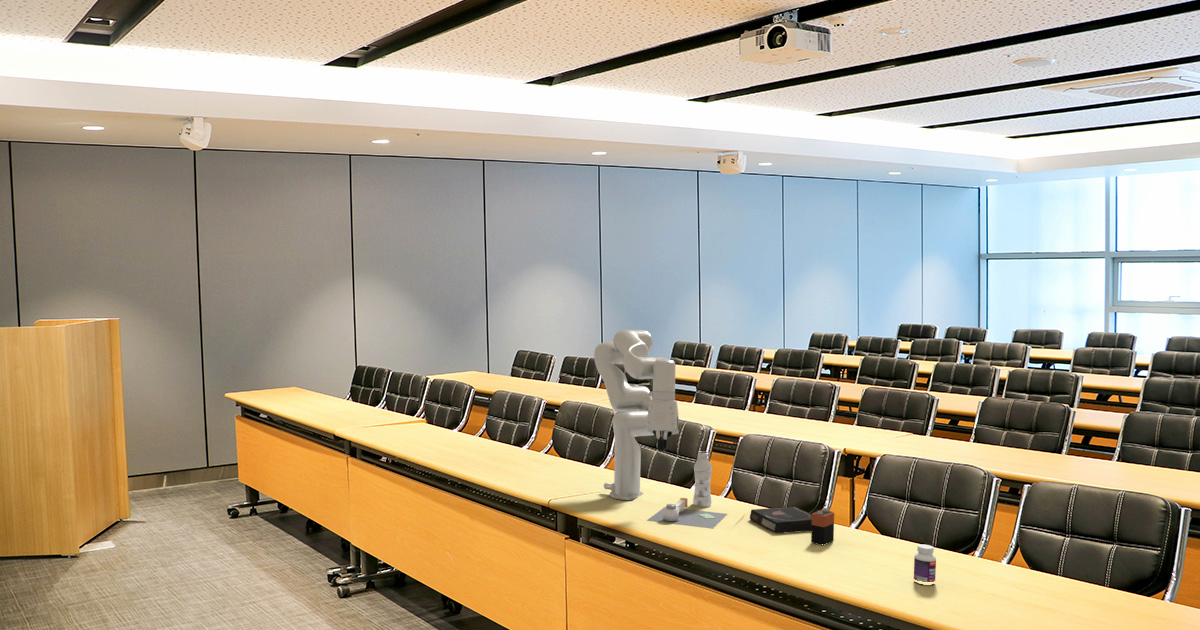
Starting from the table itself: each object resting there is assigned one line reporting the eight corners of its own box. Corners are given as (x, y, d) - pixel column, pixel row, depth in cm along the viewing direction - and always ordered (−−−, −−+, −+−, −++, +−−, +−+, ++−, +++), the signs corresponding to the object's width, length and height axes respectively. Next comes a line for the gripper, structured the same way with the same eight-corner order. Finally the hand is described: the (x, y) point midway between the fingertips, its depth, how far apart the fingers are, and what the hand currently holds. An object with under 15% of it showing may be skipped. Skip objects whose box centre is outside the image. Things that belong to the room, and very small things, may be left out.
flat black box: (749, 521, 294) (749, 509, 294) (794, 518, 300) (794, 506, 299) (774, 535, 279) (774, 522, 279) (821, 531, 284) (821, 519, 284)
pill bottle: (932, 587, 230) (934, 550, 230) (911, 583, 233) (912, 547, 233) (937, 581, 235) (938, 545, 234) (916, 578, 238) (917, 542, 237)
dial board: (646, 525, 286) (646, 519, 286) (664, 511, 304) (665, 506, 304) (712, 533, 277) (713, 527, 277) (727, 518, 296) (727, 513, 296)
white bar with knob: (661, 520, 285) (661, 505, 285) (677, 507, 302) (677, 494, 302) (676, 521, 283) (676, 507, 283) (691, 509, 300) (691, 495, 300)
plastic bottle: (711, 507, 311) (712, 450, 310) (711, 512, 304) (712, 454, 303) (692, 506, 311) (693, 450, 311) (692, 511, 304) (694, 453, 304)
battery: (834, 541, 271) (835, 509, 271) (823, 546, 266) (824, 513, 266) (821, 538, 274) (822, 506, 274) (810, 543, 269) (811, 510, 269)
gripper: (638, 396, 296) (637, 450, 297) (681, 398, 291) (680, 454, 291) (646, 393, 303) (645, 446, 304) (688, 396, 298) (687, 450, 298)
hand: (662, 450), depth 298 cm, fingers closed
